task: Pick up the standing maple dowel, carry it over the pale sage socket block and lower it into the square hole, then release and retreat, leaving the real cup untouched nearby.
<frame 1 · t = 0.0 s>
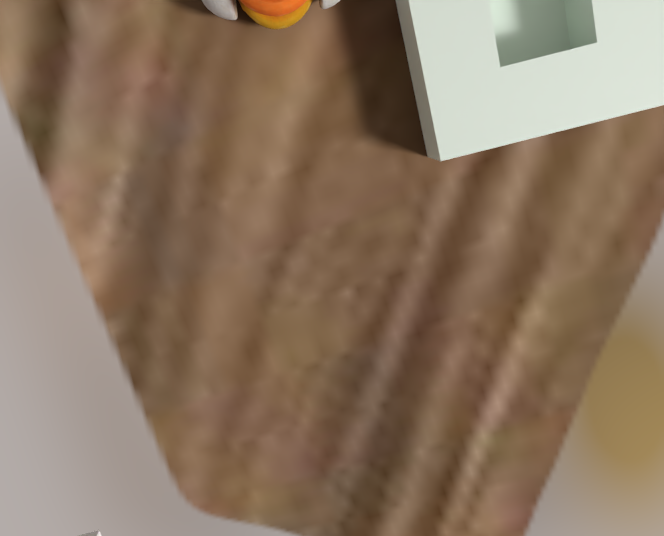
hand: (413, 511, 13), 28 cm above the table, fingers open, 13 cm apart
socket block: (516, 14, 37), on the table
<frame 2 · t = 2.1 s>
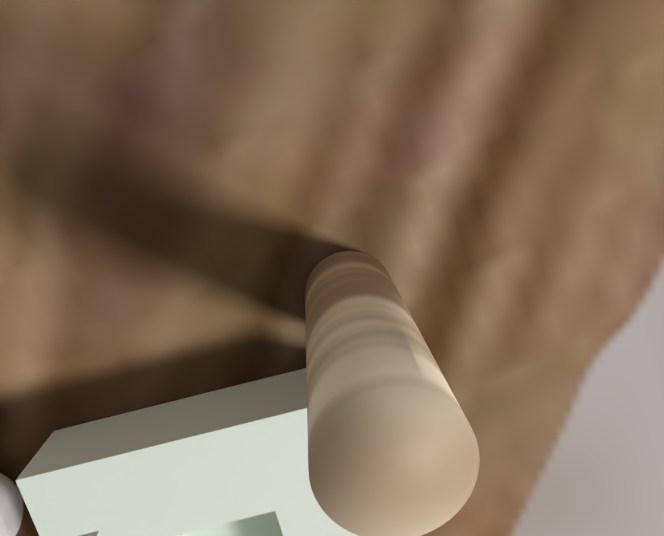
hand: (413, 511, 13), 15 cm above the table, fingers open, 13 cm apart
socket block: (239, 519, 30), on the table
peg: (348, 293, 28), on the table
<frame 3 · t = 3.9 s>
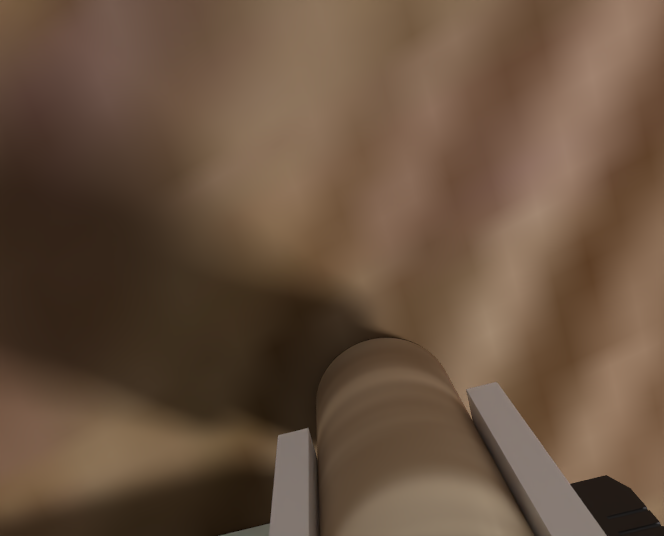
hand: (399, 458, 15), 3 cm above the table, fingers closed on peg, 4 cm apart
peg: (384, 402, 18), on the table, touching gripper
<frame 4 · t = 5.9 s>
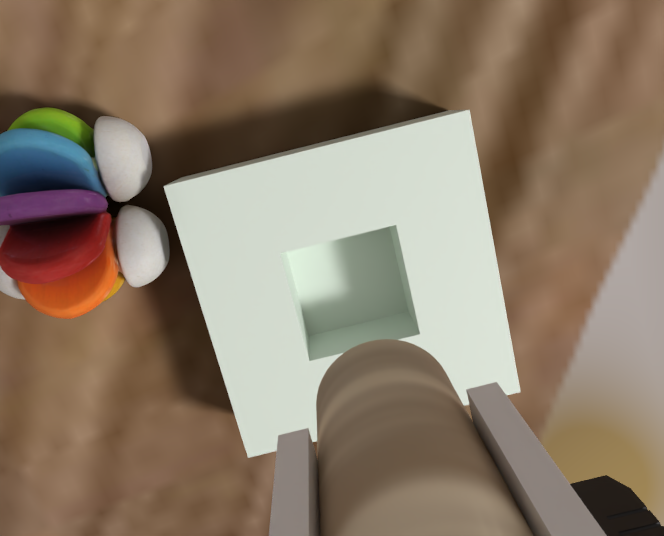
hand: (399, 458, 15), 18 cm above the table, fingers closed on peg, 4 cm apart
socket block: (346, 273, 33), on the table
rainbow wheeled toy: (85, 204, 32), on the table
peg: (384, 403, 18), point 15 cm above the table, touching gripper
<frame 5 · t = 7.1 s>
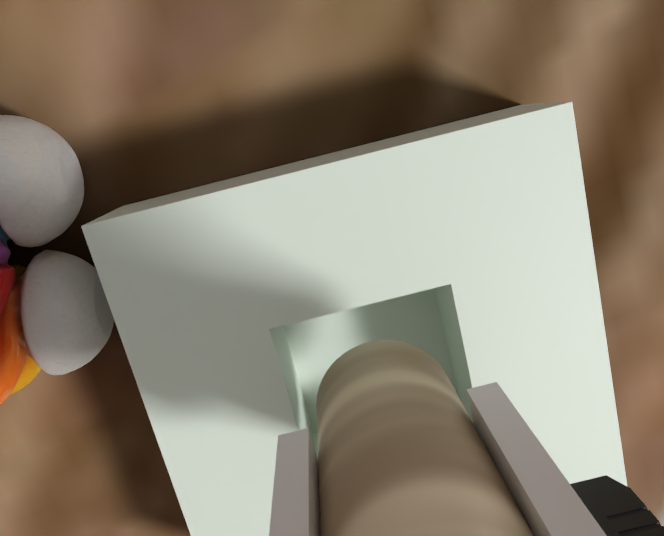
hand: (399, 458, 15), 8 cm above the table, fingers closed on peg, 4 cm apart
socket block: (367, 342, 22), on the table
peg: (384, 403, 18), point 5 cm above the table, touching gripper
when the fingers open (5 cm above the table, at t = 7.9 s): peg stays where it is, resting on socket block.
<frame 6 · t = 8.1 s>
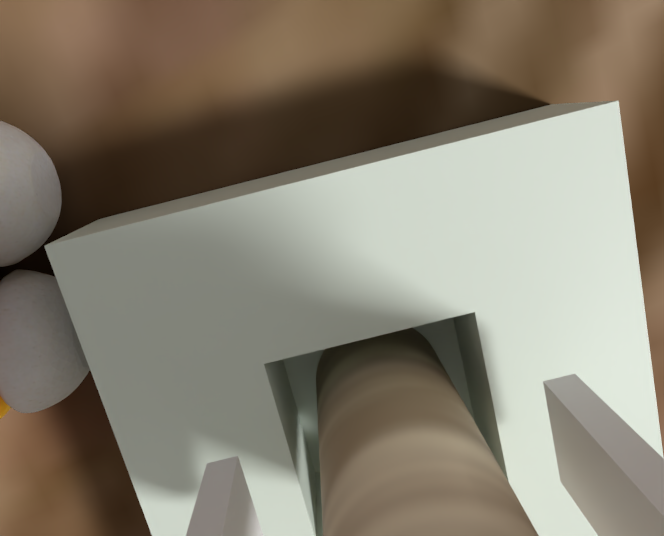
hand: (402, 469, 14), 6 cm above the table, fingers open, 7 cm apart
socket block: (375, 371, 20), on the table
peg: (378, 378, 20), point 1 cm above the table, touching socket block
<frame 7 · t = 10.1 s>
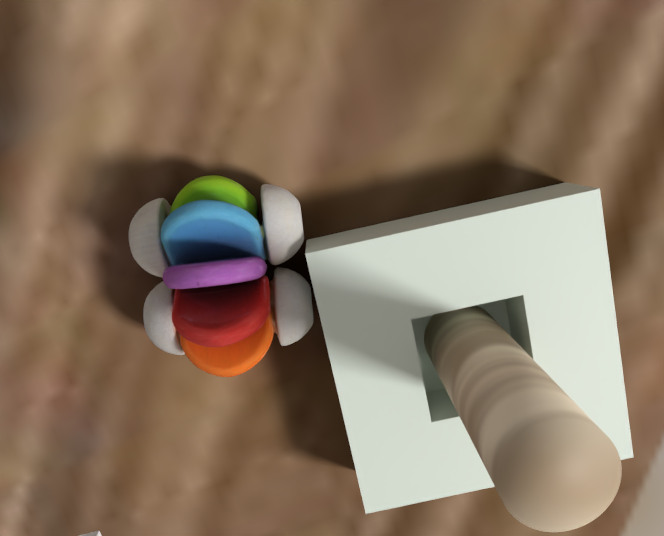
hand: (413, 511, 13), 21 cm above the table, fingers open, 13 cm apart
socket block: (458, 334, 34), on the table
rainbow wheeled toy: (230, 262, 33), on the table
peg: (460, 337, 33), point 1 cm above the table, touching socket block
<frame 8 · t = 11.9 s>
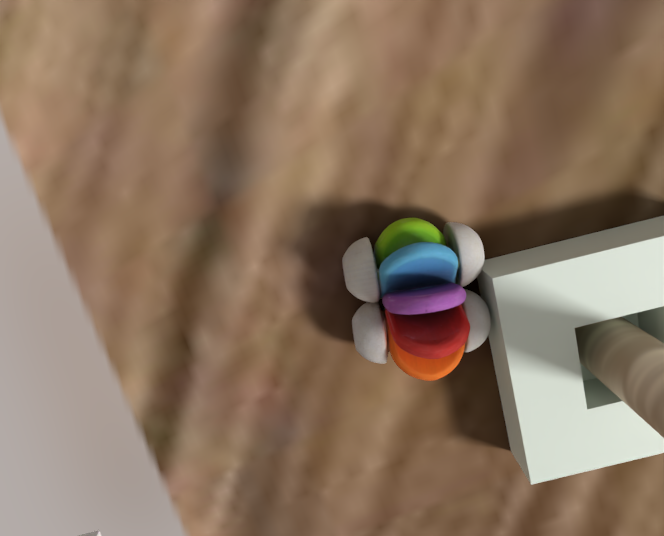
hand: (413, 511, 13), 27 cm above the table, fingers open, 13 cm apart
socket block: (595, 335, 41), on the table
rainbow wheeled toy: (410, 284, 40), on the table
peg: (599, 338, 40), point 1 cm above the table, touching socket block
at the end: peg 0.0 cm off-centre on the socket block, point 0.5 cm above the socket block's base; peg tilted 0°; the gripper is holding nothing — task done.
